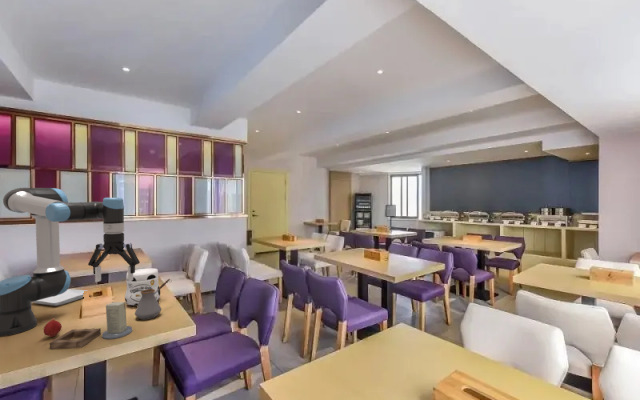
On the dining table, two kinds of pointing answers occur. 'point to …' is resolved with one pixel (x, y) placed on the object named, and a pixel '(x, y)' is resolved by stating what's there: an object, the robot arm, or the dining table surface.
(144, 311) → the coffee pot
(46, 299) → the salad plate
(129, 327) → the coaster
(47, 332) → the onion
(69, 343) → the pocket holder
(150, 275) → the milk container
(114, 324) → the skincare box
